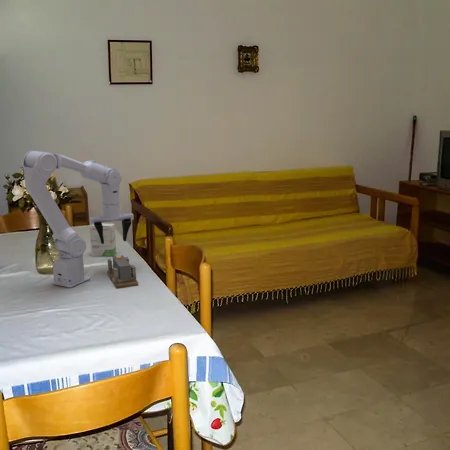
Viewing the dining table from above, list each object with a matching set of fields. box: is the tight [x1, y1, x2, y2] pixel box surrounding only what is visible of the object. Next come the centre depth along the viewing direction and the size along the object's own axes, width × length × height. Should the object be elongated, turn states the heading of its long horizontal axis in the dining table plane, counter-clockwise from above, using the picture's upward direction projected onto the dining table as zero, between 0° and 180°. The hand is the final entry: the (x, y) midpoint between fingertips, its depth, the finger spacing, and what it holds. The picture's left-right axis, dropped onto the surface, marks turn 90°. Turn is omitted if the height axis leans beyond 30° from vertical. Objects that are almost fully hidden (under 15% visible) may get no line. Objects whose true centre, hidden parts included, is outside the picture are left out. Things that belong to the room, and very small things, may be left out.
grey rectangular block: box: [112, 255, 132, 280], centre depth 175 cm, size 12×4×5 cm, turn 22°
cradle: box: [106, 256, 139, 289], centre depth 176 cm, size 16×7×6 cm, turn 22°
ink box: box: [89, 223, 117, 257], centre depth 203 cm, size 9×5×12 cm, turn 84°
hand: (113, 241), depth 185 cm, fingers open, 7 cm apart
